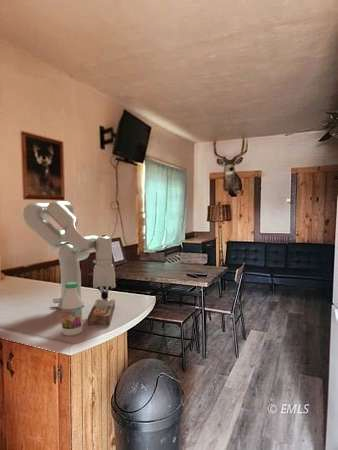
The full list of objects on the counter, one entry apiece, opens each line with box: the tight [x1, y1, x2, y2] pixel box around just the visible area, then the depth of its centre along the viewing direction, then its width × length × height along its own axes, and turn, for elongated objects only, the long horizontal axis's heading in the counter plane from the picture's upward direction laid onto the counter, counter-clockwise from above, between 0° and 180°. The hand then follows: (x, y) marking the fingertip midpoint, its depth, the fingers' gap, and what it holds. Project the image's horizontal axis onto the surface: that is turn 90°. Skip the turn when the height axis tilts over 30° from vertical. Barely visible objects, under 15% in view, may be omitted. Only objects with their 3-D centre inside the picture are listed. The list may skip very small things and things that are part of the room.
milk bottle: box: [61, 282, 83, 337], centre depth 125 cm, size 8×8×20 cm
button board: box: [87, 298, 116, 327], centre depth 144 cm, size 9×24×4 cm, turn 5°
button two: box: [95, 298, 109, 309], centre depth 144 cm, size 5×5×5 cm
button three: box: [93, 308, 107, 315], centre depth 137 cm, size 5×5×5 cm
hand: (104, 299), depth 151 cm, fingers closed
